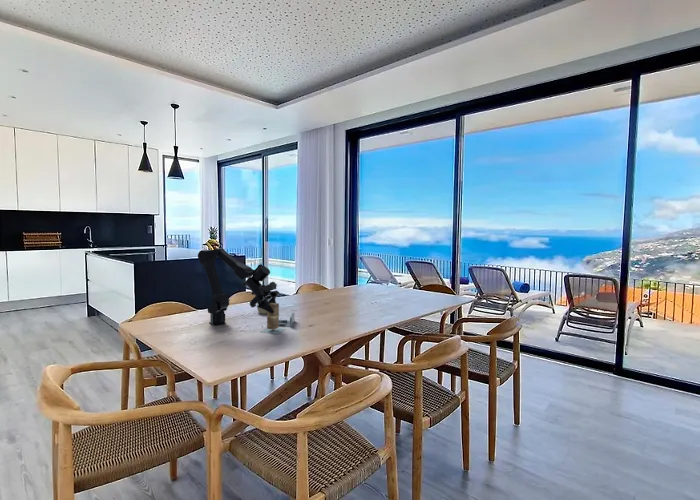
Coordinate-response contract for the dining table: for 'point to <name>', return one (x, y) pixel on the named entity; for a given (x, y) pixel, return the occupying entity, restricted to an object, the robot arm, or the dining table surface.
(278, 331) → the mat
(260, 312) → the ceramic mug
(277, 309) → the tan rectangular block
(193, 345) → the dining table surface
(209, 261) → the robot arm
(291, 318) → the bracket
